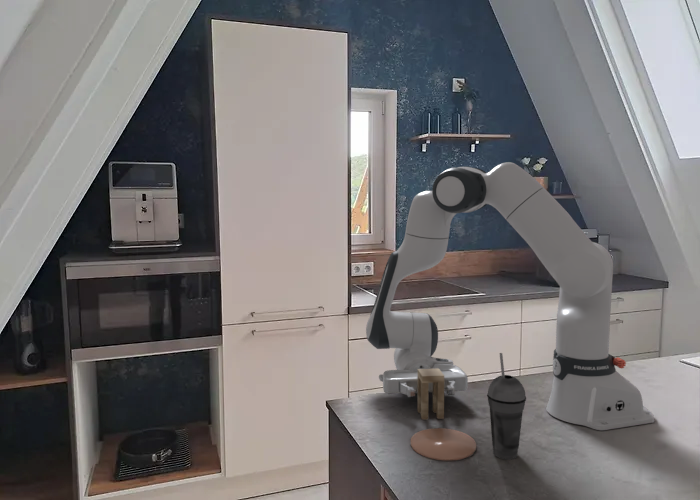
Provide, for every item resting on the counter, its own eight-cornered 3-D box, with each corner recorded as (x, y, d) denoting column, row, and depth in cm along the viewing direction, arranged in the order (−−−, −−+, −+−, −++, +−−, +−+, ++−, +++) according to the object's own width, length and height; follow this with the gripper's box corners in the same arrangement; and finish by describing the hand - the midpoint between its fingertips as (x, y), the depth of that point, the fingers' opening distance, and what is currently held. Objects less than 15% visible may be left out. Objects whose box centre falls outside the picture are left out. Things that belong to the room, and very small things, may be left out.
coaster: (464, 429, 117) (465, 426, 117) (485, 458, 104) (485, 455, 104) (405, 432, 116) (405, 429, 116) (418, 462, 103) (418, 459, 103)
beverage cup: (527, 464, 102) (529, 360, 100) (486, 461, 103) (488, 358, 101) (522, 446, 109) (525, 349, 107) (485, 443, 110) (486, 347, 108)
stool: (438, 409, 128) (438, 368, 127) (443, 418, 123) (444, 375, 122) (417, 410, 127) (417, 369, 126) (422, 419, 122) (422, 376, 121)
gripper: (377, 362, 136) (386, 381, 122) (457, 359, 138) (475, 377, 124) (377, 386, 137) (386, 408, 123) (457, 383, 138) (474, 404, 125)
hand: (431, 392), depth 123 cm, fingers open, 8 cm apart
